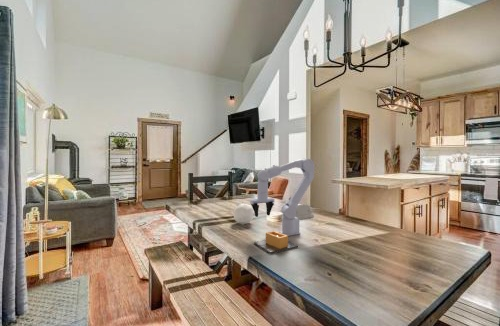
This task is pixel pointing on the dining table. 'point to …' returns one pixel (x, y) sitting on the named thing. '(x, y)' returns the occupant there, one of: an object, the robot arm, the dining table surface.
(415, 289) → the dining table surface
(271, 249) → the keeper plate
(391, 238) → the dining table surface
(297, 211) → the grey stone
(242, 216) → the geodesic sphere
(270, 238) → the orange hollow rectangular block
